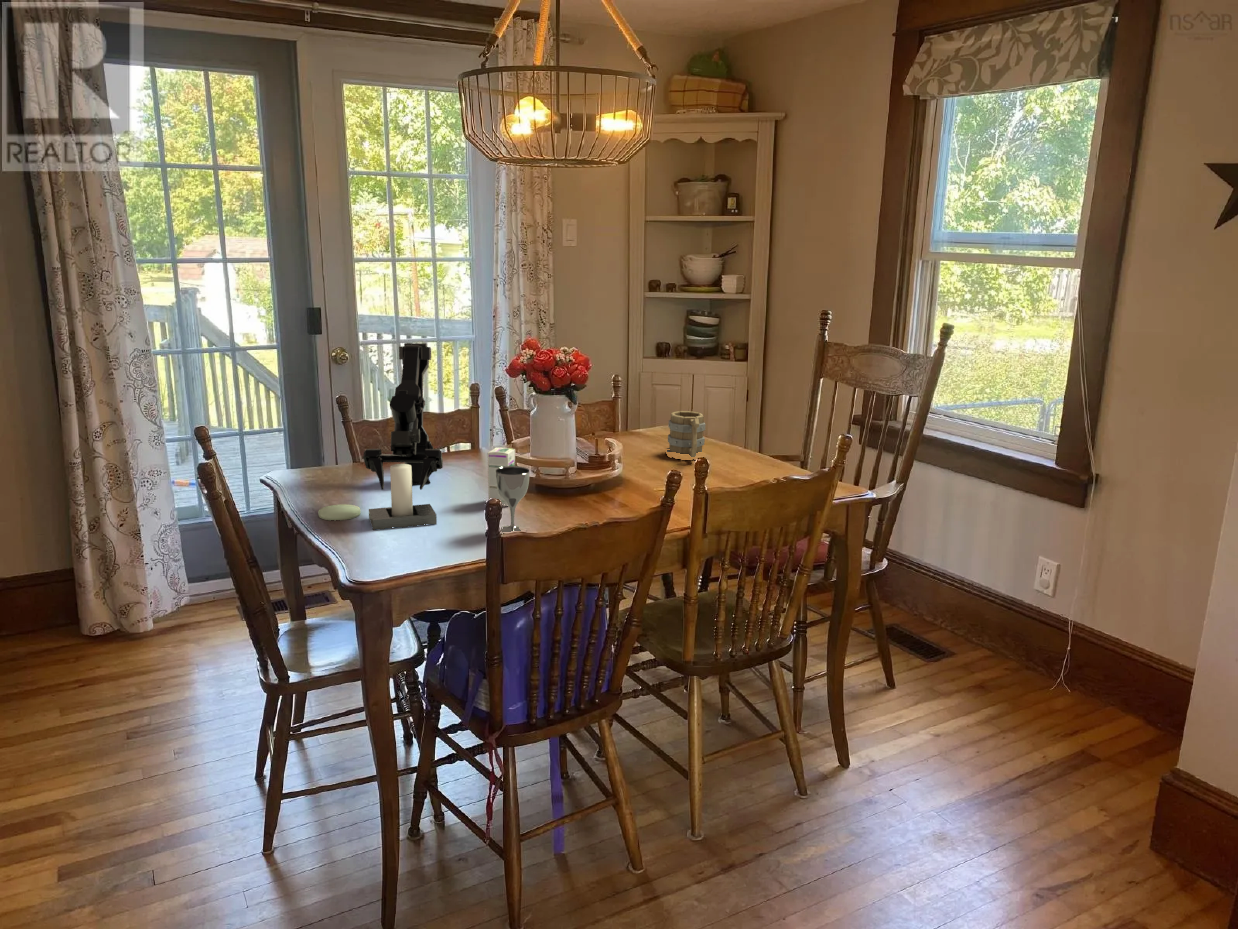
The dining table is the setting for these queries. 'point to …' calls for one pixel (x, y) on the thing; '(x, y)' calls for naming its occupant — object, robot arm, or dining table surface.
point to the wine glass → (512, 489)
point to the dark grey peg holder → (402, 517)
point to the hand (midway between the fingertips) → (401, 488)
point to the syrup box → (495, 461)
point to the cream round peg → (401, 490)
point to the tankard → (686, 432)
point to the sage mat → (339, 512)
